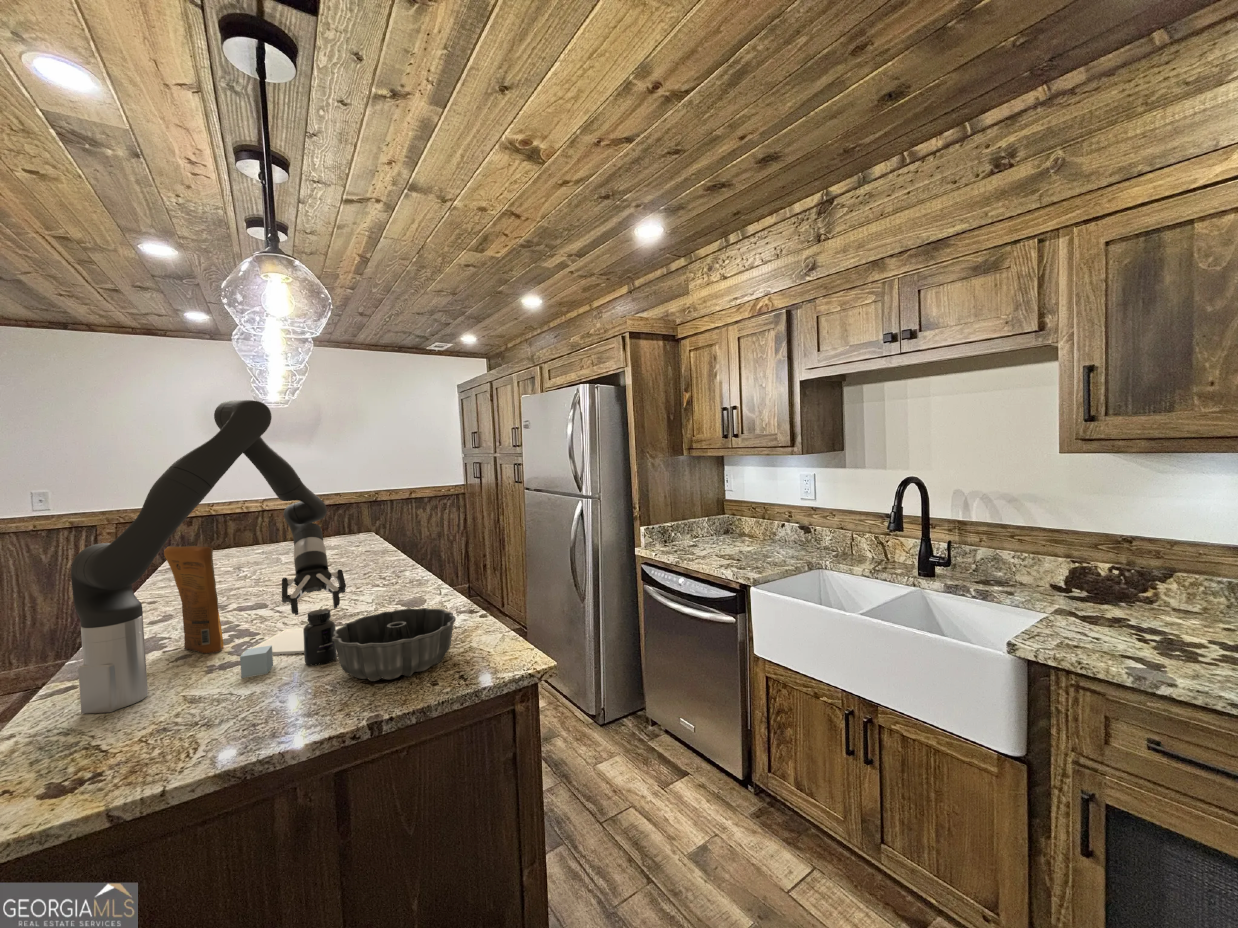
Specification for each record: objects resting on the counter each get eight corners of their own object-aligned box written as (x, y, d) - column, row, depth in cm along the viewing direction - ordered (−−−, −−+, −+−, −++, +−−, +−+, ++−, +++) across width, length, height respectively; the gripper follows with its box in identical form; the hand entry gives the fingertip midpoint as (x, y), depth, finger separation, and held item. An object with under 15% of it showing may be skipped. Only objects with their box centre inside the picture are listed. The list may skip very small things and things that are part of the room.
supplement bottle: (326, 665, 122) (323, 615, 122) (298, 666, 122) (295, 616, 122) (342, 654, 129) (340, 606, 128) (316, 655, 129) (313, 607, 129)
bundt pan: (410, 638, 139) (408, 601, 138) (480, 654, 125) (478, 614, 125) (310, 677, 116) (307, 633, 116) (382, 702, 102) (379, 652, 102)
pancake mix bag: (204, 658, 130) (197, 548, 129) (167, 648, 139) (160, 545, 138) (234, 649, 136) (227, 543, 135) (197, 639, 145) (190, 540, 144)
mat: (312, 653, 130) (312, 650, 130) (241, 656, 130) (241, 653, 130) (349, 628, 148) (349, 625, 148) (287, 631, 148) (286, 628, 148)
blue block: (267, 674, 119) (265, 652, 119) (241, 678, 117) (240, 656, 117) (273, 665, 124) (271, 645, 123) (248, 669, 122) (247, 648, 122)
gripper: (278, 553, 133) (282, 607, 124) (341, 546, 141) (349, 596, 132) (279, 570, 137) (283, 624, 128) (339, 562, 145) (347, 611, 136)
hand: (316, 609), depth 130 cm, fingers open, 8 cm apart
